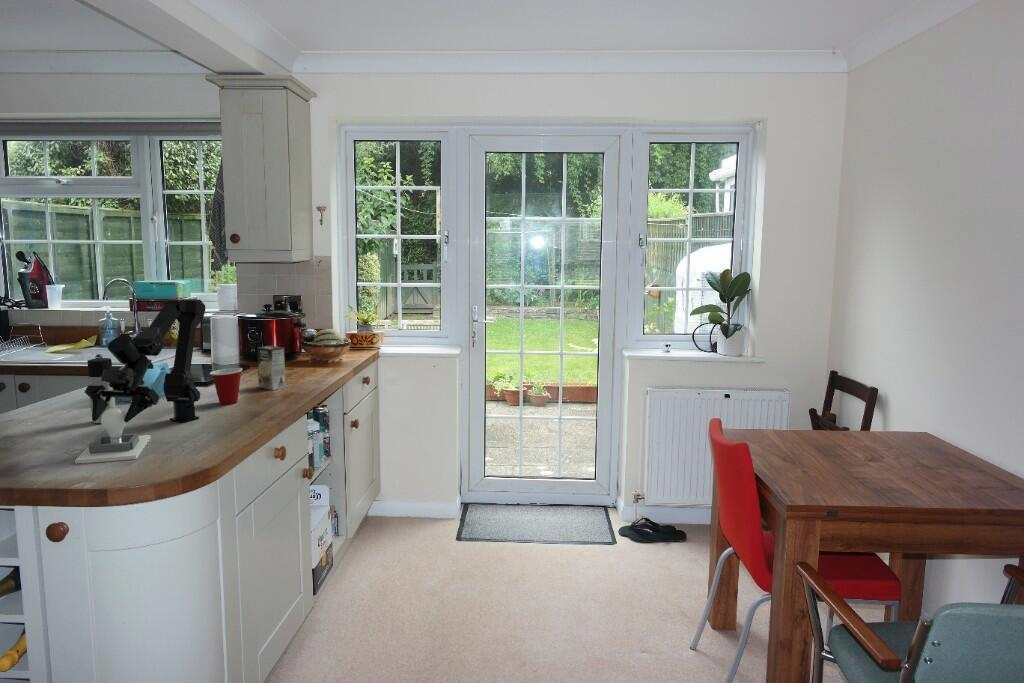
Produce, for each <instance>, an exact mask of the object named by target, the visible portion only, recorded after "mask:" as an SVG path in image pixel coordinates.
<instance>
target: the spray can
mask: <svg viewBox="0 0 1024 683" xmlns="http://www.w3.org/2000/svg"><path fill="white" fill-rule="evenodd" d="M86 362H87V373H88V374H87V375H88V376H87V377H88V385H103V386H104V387H105V388H106V389H107V390H113V388H112V387H110V386H109V383H108V382H105V381H101V378H102V374H103V370H104V369H113V362H112V359H111V358H110V357H109V358H108V357H99V358H98V357H97V358H92V359H87V361H86ZM89 399H90V400H89V401H90V410H91V412H90V413H92V412H93V401H92V399H91V398H90V397H89ZM107 403H108V404H109V405H108V406H107V407H106V409H105V410H107V409H109V408H112V407H116V397H111V399H110V401H109V402H107ZM105 410H104V411H105ZM104 411H103V412H104ZM102 414H103V413H102ZM102 414H101V415H102ZM101 415H100V417H99V418H98V419H97V420H96V421H93V420H92V419H91V420H92V423H93V422H94V423H93V424H97V423H101Z"/></svg>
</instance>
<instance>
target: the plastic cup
mask: <svg viewBox="0 0 1024 683" xmlns="http://www.w3.org/2000/svg"><path fill="white" fill-rule="evenodd" d="M242 372H243V368H242V367H231V368H221V369H217V370H214V371H210V372H209V375H211V378H212V380H213V383H214V387H215V390H216V394H217V397H218V401H219V404H220V405H223V406H224V405H226V406H227V405H234V404H237V403H238V400H239V393H240V385H241V377H242Z"/></svg>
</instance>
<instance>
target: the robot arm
mask: <svg viewBox="0 0 1024 683" xmlns="http://www.w3.org/2000/svg"><path fill="white" fill-rule="evenodd" d="M205 312H206V305H205V303H204V302H203V301H202V300H201V299H194V298H193V299H191V298H188V299H187V298H185V299H184V298H181V299H180V298H179V299H178V298H169V299H166V300H165V301H164V304H163V307H162V308H161V310H160V311H159V312H158V314H157V315H156V316H155V317H154V320H152V322H151V323H150V325H149V326H148V327H147V328H145V329H144V330H142V331H140V332H138V333H137V334H136V335H135V336H134V337H133V338H132V337H131V335H130V334H129V333H121V334H120V336H117V337H114V338H113V339H112V340H111V341H110V342H109V343H108V344H107V350H108V351H109V352H110V353H111V354H112V355H113V357H114V358H115V359H117V361H118V362H119V363H120V364H122V365H123V366H124V368H123V369H122V370H119V369H114V368H112V369H104V370H103V374H102V378H101V381H105V382H108V383H109V386H110V387H112V388H113V390H107V389H106V388H105V387H104V386H103V385H89V384H88V385H87V387H86V388H85V390H84V394H86V395H87V396H88V397H89V399H90V398H91V399H92V401H93V412H91V420H93V421H96V420H97V419H98V418H99V417H100V415H101V414H102V413H103V411H104V410H105V409H106V407H107V406H108V405H109V404H108V403H107V402H109V401H110V399H111V397H115V398H117V397H119V398H132V402H130V405H129V407H128V409H127V412H126V416H125V419H124V421H125V422H126V424H127V423H129V421H131V420H132V419H134V418H135V417H136V416H137V415H139V414H141V413H142V412H143V411H145V410H147V409H148V408H152V407H153V406H157V405H158V404H159V401H160V399H159V395H158V394H157V393H156V392H155V391H154V390H153V388H152V387H151V386H140V385H143V384H144V381H143V380H142V379H143V377H144V375H145V373H146V371H147V369H153V368H154V367H153V365H154V364H153V362H152V359H149V357H150V356H151V357H157V356H158V355H160V354H161V352H162V350H163V348H164V346H165V339H164V338H165V336H166V335H167V333H168V332H169V330H170V329H171V328H172V326H173V325H174V323H175V321H177V322H178V324H179V326H178V332H177V333H178V334H177V338H176V339H177V340H176V347H175V355H174V362H173V368H172V369H171V370H170V373H166V375H165V381H164V385H163V386H164V388H163V390H164V394H165V396H164V397H165V399H166V401H167V402H169V403H171V402H172V403H173V417H170V418H169V421H173V422H177V421H178V422H177V423H184V422H185V423H186V422H189V421H193V420H198V419H200V416H199V415H196V407H195V402H199V400H200V399H201V392H200V391H199V390H198V388H197V386H195V378H194V376H193V374H192V372H191V367H192V361H193V353H194V348H195V347H194V345H195V338H196V331H197V327H198V326H199V324H201V322H202V321H203V319H204V316H205ZM93 421H92V422H93Z"/></svg>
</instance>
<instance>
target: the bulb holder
mask: <svg viewBox="0 0 1024 683" xmlns="http://www.w3.org/2000/svg"><path fill="white" fill-rule="evenodd" d="M121 438H122V439H121V440H122V443H115V444H111V441H110V436H109V434H108V435H100V436H98V437H96V438H94V439H93V440H92V441H91V442H90V443H89V444H88V446H87V447H86V448H85V449H84V450H83V451H82V453H80V454H79V456H77V458H75V459H74V464H75V465H79V463H81V464H91V463H103V462H116V461H128V460H129V461H130V460H136V459H138V457H139V456H140V454H142V452H143V450H144V449H143V448H145V447H146V446H147V445H148V443H149V441H150V440H151V438H152V437H151V434H145V435H139V434H138V432H137V433H125V434H123V433H122V435H121ZM149 439H150V440H149ZM147 442H148V443H147ZM145 445H146V446H145ZM77 463H78V464H77Z"/></svg>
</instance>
